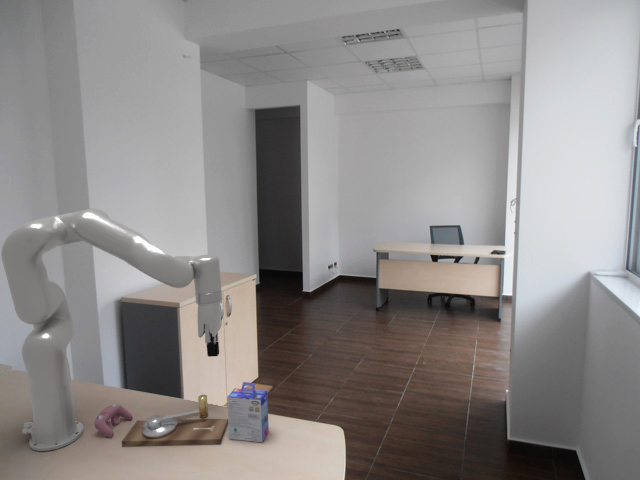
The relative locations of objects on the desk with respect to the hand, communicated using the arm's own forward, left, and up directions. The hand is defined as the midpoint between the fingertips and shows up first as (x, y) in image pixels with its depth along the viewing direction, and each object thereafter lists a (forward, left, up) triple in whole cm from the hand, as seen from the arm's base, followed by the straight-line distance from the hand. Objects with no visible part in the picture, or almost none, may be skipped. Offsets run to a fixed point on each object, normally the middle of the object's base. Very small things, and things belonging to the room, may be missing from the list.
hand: (213, 355), depth 126 cm
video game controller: (-27, -10, -17) cm, 33 cm away
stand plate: (-7, -14, -17) cm, 23 cm away
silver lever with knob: (-8, -12, -15) cm, 21 cm away
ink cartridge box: (+13, -15, -17) cm, 26 cm away
